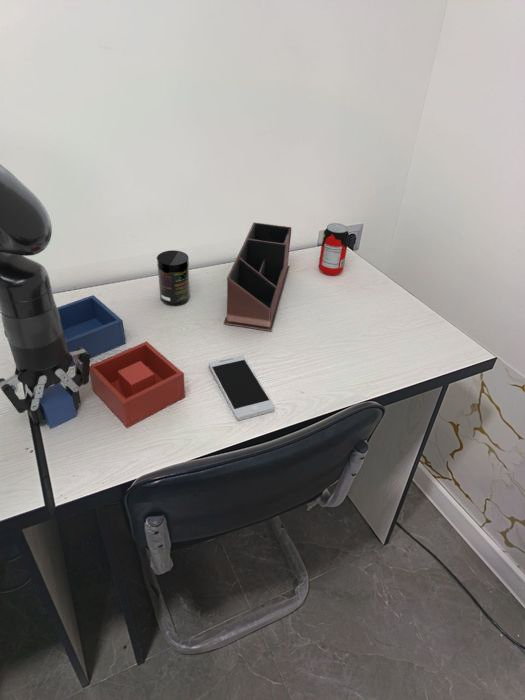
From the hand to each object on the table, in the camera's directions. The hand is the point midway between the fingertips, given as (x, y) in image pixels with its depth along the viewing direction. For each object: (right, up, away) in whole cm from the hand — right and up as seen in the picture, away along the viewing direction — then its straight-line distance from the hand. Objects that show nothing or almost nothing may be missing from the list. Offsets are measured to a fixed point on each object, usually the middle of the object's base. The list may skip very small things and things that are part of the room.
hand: (57, 413), depth 82 cm
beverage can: (+52, +31, +45) cm, 75 cm away
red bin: (+12, +3, +5) cm, 14 cm away
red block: (+12, +3, +5) cm, 14 cm away
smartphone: (+30, +4, +8) cm, 31 cm away
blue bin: (-1, +12, +16) cm, 21 cm away
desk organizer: (+33, +24, +35) cm, 54 cm away
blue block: (0, 0, 0) cm, 0 cm away
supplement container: (+14, +22, +31) cm, 40 cm away
